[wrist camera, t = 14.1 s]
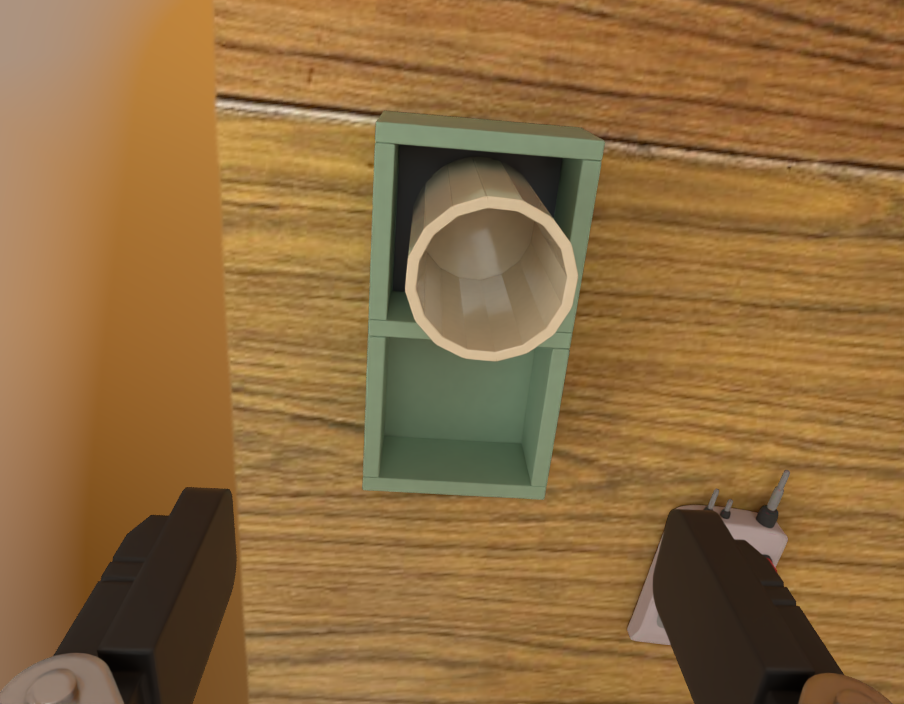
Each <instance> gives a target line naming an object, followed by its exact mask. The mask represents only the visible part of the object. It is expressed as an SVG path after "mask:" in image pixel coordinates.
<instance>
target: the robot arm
mask: <svg viewBox="0 0 904 704" xmlns="http://www.w3.org/2000/svg"><path fill="white" fill-rule="evenodd" d="M235 573H236V544H235V528H234V514H233V501H232V494H231V491H230V490H229V489H218V488H194V487H193V488H192V487H187V488H185V489H184V490H183V491H182V493H181V495H180V497H179V499H178V501H177V502H176V504H175V506H174V508H173V510H172V512H171V513H170V515H169V516H163V515H150V516H149V517H148V518H147V519H146V520H144V521H143V522H142V523H140V524H139V525H138V526H137V527H135V528H134V529H133V530H132V531H130V532H129V533H128V534H127V535H126V537H125V538H124V540H123V542H122V543H121V545H120V547H119V548H118V550H117V551H116V553H115V555H114V556H113V561H112V562H110V563H109V565H108V566H107V568H106V570H105V571H104V573H103V575H102V576H101V581H99V582H98V583H97V584H96V586H95V588H94V590H93V591H92V593H91V594H90V596H89V598H88V599H87V601H86V603H85V604H84V606H83V608H82V610H81V611H80V613H79V614H78V616H77V618H76V619H75V621H74V623H73V624H72V626H71V627H70V629H69V631H68V632H67V634H66V636H65V638H64V639H63V641H62V642H61V644H60V646H59V647H58V649H57V651H56V653H55V654H54V656H53V657H50V658H47V659H44V660H42V661H40V662H37V663H35V664H33V665H32V666H30V667H28V668H27V669H25V670H23V671H22V672H21V673H19V674H18V675H17V676H15V677H14V678H13V679H12V680H11V681H10V682H9V683H8V684H7V685H6V686H5V687H4V688H3V690H2V691H1V692H0V704H192V703H193V701H194V698H195V695H196V692H197V689H198V686H199V683H200V681H201V678H202V675H203V672H204V669H205V666H206V664H207V661H208V658H209V655H210V652H211V649H212V647H213V644H214V641H215V638H216V635H217V632H218V630H219V627H220V624H221V621H222V618H223V615H224V613H225V610H226V607H227V604H228V601H229V598H230V595H231V592H232V589H233V585H234V579H235ZM653 597H654V602H655V606H656V609H657V612H658V614H659V617H660V619H661V621H662V624H663V626H664V629H665V631H666V634H667V636H668V639H669V641H670V644H671V646H672V649H673V651H674V654H675V656H676V659H677V661H678V664H679V666H680V669H681V671H682V674H683V676H684V679H685V681H686V684H687V686H688V689H689V691H690V694H691V696H692V699H693V701H694V703H695V704H892V703H891V702H890V701H889V700H888V699H887V698H886V697H884V696H883V695H882V694H881V693H879V692H878V691H876V690H875V689H873V688H872V687H870V686H869V685H867V684H865V683H863V682H861V681H859V680H856V679H854V678H851V677H848V676H845V675H844V674H843V672H842V671H841V669H840V668H839V666H838V665H837V663H836V662H835V660H834V659H833V657H832V656H831V654H830V653H829V651H828V650H827V648H826V646H825V645H824V643H823V642H822V640H821V639H820V637H819V636H818V634H817V633H816V631H815V630H814V628H813V627H812V625H811V624H810V622H809V621H808V619H807V617H806V616H805V614H804V613H803V611H802V610H801V608H800V607H799V606H796V601H795V599H794V598H793V596H792V595H791V593H790V592H789V590H788V588H787V587H784V582H783V581H782V579H781V578H780V576H779V575H778V573H777V572H776V570H775V569H774V567H773V566H772V564H771V563H770V561H769V560H768V559H767V558H766V557H765V556H764V555H762V554H761V553H760V552H759V551H758V550H756V549H755V548H754V547H753V546H752V545H750V544H749V543H748V542H747V541H746V540H739V539H734V538H733V536H732V535H731V533H730V531H729V530H728V528H727V527H726V525H725V523H724V522H723V520H722V518H721V517H720V515H719V514H718V513H717V512H716V511H712V510H690V509H673V510H672V511H671V512H670V513H669V516H668V519H667V522H666V526H665V530H664V534H663V538H662V542H661V545H660V549H659V553H658V557H657V561H656V565H655V569H654V573H653Z"/></svg>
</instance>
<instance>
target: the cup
mask: <svg viewBox="0 0 904 704" xmlns="http://www.w3.org/2000/svg"><path fill="white" fill-rule="evenodd" d="M577 281H578V271H577V266H576V262H575V257H574V252H573V247H572V245H571V242H570V241H569V239H568V238H567V236H566V235H565V234H564V232H563V231H562V229H561V228H560V226H559V225H558V224H557V222H556V221H555V219H554V218H553V216H552V215H551V214H550V212H549V211H548V209H547V208H546V206H545V205H544V204H543V202H542V201H541V199H540V198H539V196H538V195H537V194H536V192H535V191H534V189H533V188H532V187H531V185H530V184H529V183H528V181H527V180H526V179H525V177H524V176H523V175H522V174H521V173H520V172H518V171H517V170H516V169H514V168H513V167H511V166H510V165H508V164H506V163H504V162H502V161H499V160H496V159H493V158H487V157H467V158H463V159H459V160H456V161H453V162H451V163H449V164H447V165H445V166H443V167H442V168H440V169H439V170H438V171H436V172H435V173H434V174H433V175H432V176H431V177H430V178H429V179H428V180H427V182H426V183H425V184H424V186H423V187H422V189H421V190H420V192H419V195H418V197H417V199H416V202H415V204H414V207H413V216H412V225H411V234H410V243H409V252H408V262H407V272H406V282H405V293H406V296H407V299H408V302H409V305H410V308H411V311H412V314H413V317H414V320H415V321H416V323H417V324H418V325H419V326H420V327H421V328H422V329H423V331H424V332H425V333H426V334H427V335H428V336H429V337H430V339H431V340H432V341H433V342H434V343H435V344H436V345H438V346H440V347H442V348H444V349H446V350H448V351H450V352H452V353H454V354H456V355H458V356H460V357H462V358H465V359H474V360H484V361H494V362H495V361H500V360H504V359H508V358H512V357H516V356H519V355H523V354H526V353H529V352H530V351H531V350H533V349H534V348H536V347H537V346H539V345H540V344H541V343H543V342H544V341H546V340H547V339H548V338H550V337H551V336H553V334H555V332H556V331H557V329H558V328H559V326H560V325H561V323H562V322H563V320H564V319H565V317H566V316H567V314H568V313H569V311H570V310H571V307H572V305H573V301H574V296H575V291H576V286H577Z"/></svg>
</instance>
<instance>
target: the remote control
mask: <svg viewBox="0 0 904 704" xmlns="http://www.w3.org/2000/svg"><path fill="white" fill-rule="evenodd" d="M789 475H790V471H789V470H785V471H784V473H783V475H782V477H781V479H780V481H779V484H778V486H777V487H775V489H774V491H773V493H772V495H771V497H770V500H769V502H768V504H767V505H764V506H762V507H761V509H760V510H759V512H758V513H756V512H752V511H748V510H741V509H735V508H731V506H732V503H733V500H732V499H729V500H728V502H727V504H726V507H719V506H714V504H715V501H716V499H717V496H718V493H719V490H718V489H715V490H714V492H713V494H712V497H711V499H710V502H709V504H708V505H686V506H680V507H678V508H675V509H690V510H712V511H716V512H717V513H718V514H719V515H720V517H721V518H722V520H723V522H724V523H725V525H726V527H727V528H728V530H729V531H730V533H731V535H732V536H733V538H734V539H739V540H746V541H747V542H748V543H749V544H750V545H752V546H753V547H754V548H755V549H756V550H758V551H759V552H760V553H761V554H762V555H764V556H765V557H766V558H767V559H768V560H769V561H770V563H771V564H772V566H773V567H774V569H775V570H776V568H775V567H776V565H777V563H778V561H779V559H780V556H781V554H782V552H783V550H784V548H785V546H786V544H787V541H788V537H787V536H786V534H785V533H784V532H783V530H782V529H781V527H780V526H779V525H778V523H777V522H776V521H777V519H778V511H777V509H776V508H777V506H778V504H779V502H780V500H781V497H782V495H783V492H784V489H783V488H784V486H785V484H786V482H787V479H788V477H789ZM663 534H664V533H663ZM662 538H663V535H662ZM662 538H661V541H660V543H659V546H658V549H657V552H656V554H655V557H654V560H653V562H652V565H651V568H650V570H649V573H648V576H647V578H646V581H645V584H644V587H643V589H642V592H641V595H640V597H639V600H638V603H637V605H636V608H635V611H634V613H633V616H632V618H631V621H630V623H629V626H628V628H627V630H628V633H629V636H630V639H632V640H635V641H641V642H649V643H657V644H666V645H671V644H670V641H669V639H668V636H667V634H666V631H665V629H664V626H663V624H662V621H661V619H660V617H659V614H658V612H657V609H656V606H655V602H654V597H653V573H654V569H655V565H656V561H657V557H658V553H659V549H660V545H661V542H662ZM776 572H777V570H776Z"/></svg>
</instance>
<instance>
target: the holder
mask: <svg viewBox="0 0 904 704" xmlns="http://www.w3.org/2000/svg"><path fill="white" fill-rule="evenodd" d="M375 141H376V143H375V155H374V183H373V210H372V238H371V265H370V293H369V322H368V350H367V377H366V405H365V432H364V460H363V486H362V489H363V490H372V491H391V492H410V493H429V494H447V495H466V496H485V497H504V498H523V499H542V500H543V499H544V498H545V492H546V486H547V481H548V475H549V469H550V463H551V457H552V451H553V445H554V440H555V434H556V428H557V422H558V416H559V410H560V404H561V398H562V393H563V387H564V381H565V375H566V369H567V363H568V357H569V351H570V350H569V348H570V345H571V339H572V332H573V328H574V322H575V316H576V310H577V304H578V298H579V292H580V287H581V281H582V275H583V269H584V263H585V257H586V251H587V245H588V240H589V234H590V228H591V222H592V216H593V210H594V204H595V198H596V193H597V187H598V181H599V175H600V169H601V160H602V157H603V151H604V145H605V141H604V140H602V139H600V138H598V137H597V136H595V135H593V134H591V133H590V132H588V131H586V130H584V129H583V128H579V127H567V126H555V125H544V124H532V123H521V122H509V121H497V120H486V119H474V118H463V117H451V116H439V115H428V114H416V113H404V112H393V111H383V113H382V114H381V116H380V117H379V119H378V120H377V121H376V128H375ZM467 157H487V158H493V159H496V160H499V161H502V162H504V163H506V164H508V165H510V166H511V167H513V168H514V169H516V170H517V171H518V172H520V173H521V174H522V175H523V176H524V177H525V179H526V180H527V181H528V183H529V184H530V185H531V187H532V188H533V189H534V191H535V192H536V194H537V195H538V196H539V198H540V199H541V201H542V202H543V204H544V205H545V206H546V208H547V209H548V211H549V212H550V214H551V215H552V216H553V218H554V219H555V221H556V222H557V224H558V225H559V226H560V228H561V229H562V231H563V232H564V234H565V235H566V236H567V238H568V239H569V241H570V242H571V245H572V247H573V252H574V257H575V262H576V266H577V271H578V281H577V286H576V291H575V296H574V301H573V305H572V307H571V310H570V311H569V313H568V314H567V316H566V317H565V319H564V320H563V322H562V323H561V325H560V326H559V328H558V329H557V331H556V332H555V334H553V336H551V337H550V338H548V339H547V340H546V341H544V342H543V343H541V344H540V345H539V346H537V347H536V348H534V349H533V350H531V351H530V352H529V353H526V354H523V355H519V356H516V357H512V358H508V359H504V360H500V361H495V362H494V361H484V360H474V359H465V358H462V357H460V356H458V355H456V354H454V353H452V352H450V351H448V350H446V349H444V348H442V347H440V346H438V345H436V344H435V343H434V342H433V341H432V340H431V339H430V337H429V336H428V335H427V334H426V333H425V332H424V331H423V329H422V328H421V327H420V326H419V325H418V324H417V323H416V321H415V320H414V317H413V314H412V311H411V308H410V305H409V302H408V299H407V296H406V293H405V282H406V272H407V262H408V252H409V243H410V234H411V225H412V216H413V207H414V204H415V202H416V199H417V197H418V195H419V192H420V190H421V189H422V187H423V186H424V184H425V183H426V182H427V180H428V179H429V178H430V177H431V176H432V175H433V174H434V173H435V172H436V171H438V170H439V169H440V168H442V167H443V166H445V165H447V164H449V163H451V162H453V161H456V160H459V159H463V158H467Z"/></svg>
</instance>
